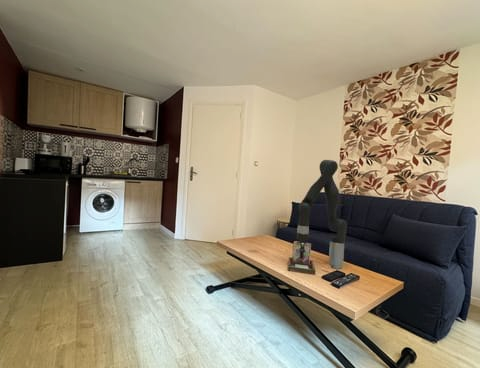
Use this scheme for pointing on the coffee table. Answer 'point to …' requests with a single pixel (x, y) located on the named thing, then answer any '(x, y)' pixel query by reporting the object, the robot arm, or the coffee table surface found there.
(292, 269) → the tray
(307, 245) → the candy bar box
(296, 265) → the sage offcut
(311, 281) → the coffee table surface
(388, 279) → the coffee table surface
